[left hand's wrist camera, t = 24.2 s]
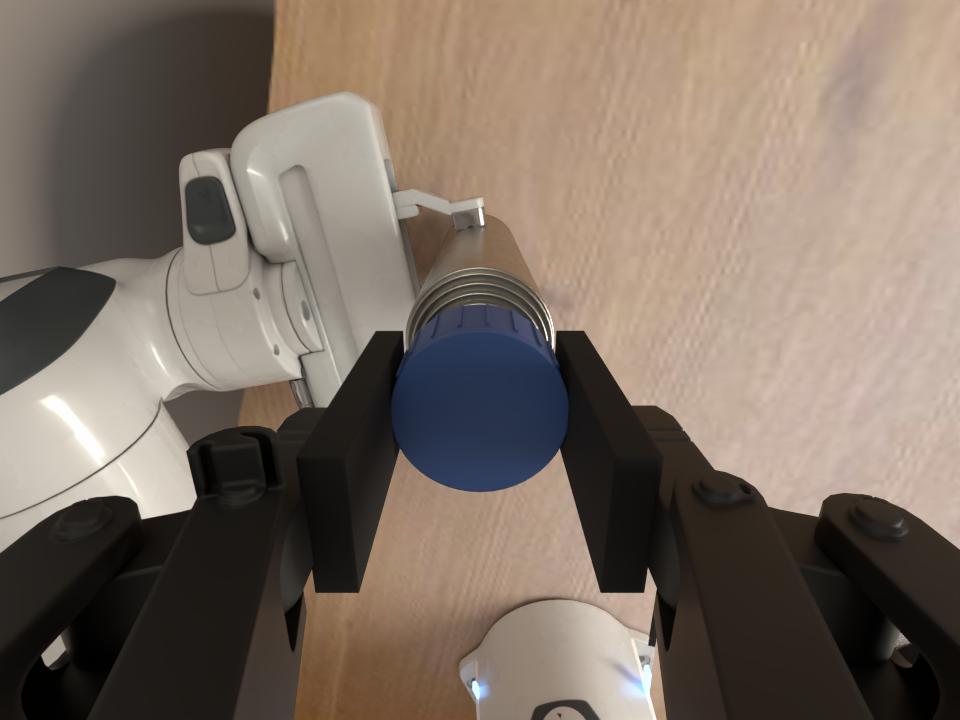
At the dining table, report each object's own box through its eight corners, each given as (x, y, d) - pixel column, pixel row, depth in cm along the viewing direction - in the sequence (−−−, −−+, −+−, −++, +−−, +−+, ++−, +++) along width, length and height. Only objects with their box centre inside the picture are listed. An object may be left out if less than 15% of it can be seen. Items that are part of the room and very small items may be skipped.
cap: (532, 458, 15) (541, 508, 13) (389, 427, 15) (373, 474, 13) (577, 323, 14) (596, 353, 12) (419, 284, 13) (407, 308, 11)
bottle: (514, 287, 37) (573, 487, 14) (444, 286, 37) (385, 486, 14) (516, 214, 35) (588, 305, 12) (442, 213, 35) (372, 303, 12)
